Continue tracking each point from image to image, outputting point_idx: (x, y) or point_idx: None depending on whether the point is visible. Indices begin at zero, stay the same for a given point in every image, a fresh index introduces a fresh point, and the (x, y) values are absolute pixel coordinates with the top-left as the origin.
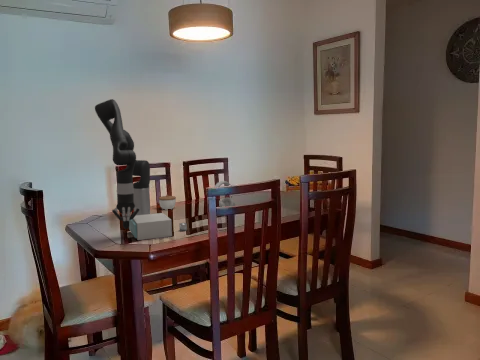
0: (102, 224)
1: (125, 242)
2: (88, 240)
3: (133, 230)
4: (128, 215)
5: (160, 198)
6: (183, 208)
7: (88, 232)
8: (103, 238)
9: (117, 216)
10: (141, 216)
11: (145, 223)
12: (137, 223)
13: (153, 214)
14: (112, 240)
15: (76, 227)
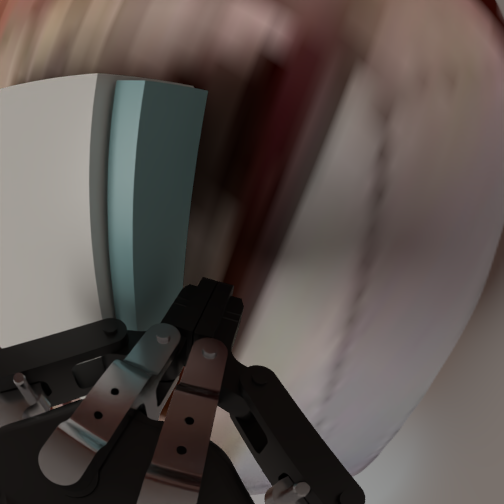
0: None
1: (309, 83)
2: (459, 318)
3: (175, 168)
4: (131, 371)
5: None
6: None
7: (361, 427)
8: (385, 311)
9: (297, 422)
10: None
11: (31, 82)
12: (94, 75)
13: (6, 342)
14: (370, 220)
15: (346, 469)
